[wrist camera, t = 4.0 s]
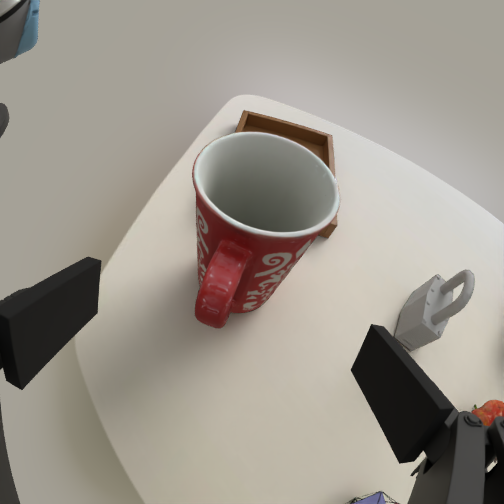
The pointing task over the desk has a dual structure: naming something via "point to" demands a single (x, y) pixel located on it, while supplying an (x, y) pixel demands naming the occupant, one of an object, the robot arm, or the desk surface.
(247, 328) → the desk surface
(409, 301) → the padlock
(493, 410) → the pomegranate
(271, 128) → the tray
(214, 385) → the desk surface
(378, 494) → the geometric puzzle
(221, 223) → the mug
